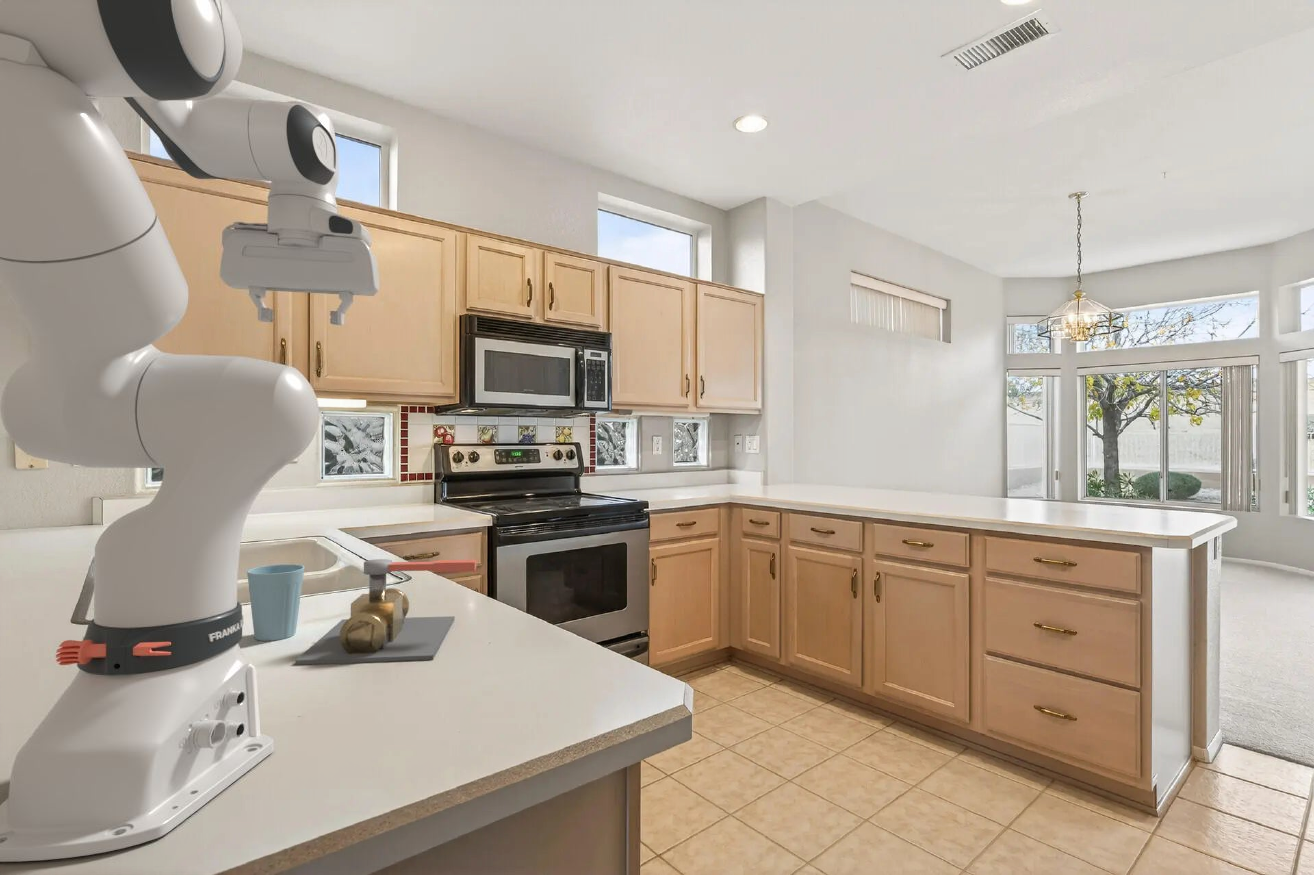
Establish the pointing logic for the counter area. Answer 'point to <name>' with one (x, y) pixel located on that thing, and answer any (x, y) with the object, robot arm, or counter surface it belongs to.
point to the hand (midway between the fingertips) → (301, 323)
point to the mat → (410, 644)
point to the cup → (275, 600)
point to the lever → (418, 566)
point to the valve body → (374, 618)
